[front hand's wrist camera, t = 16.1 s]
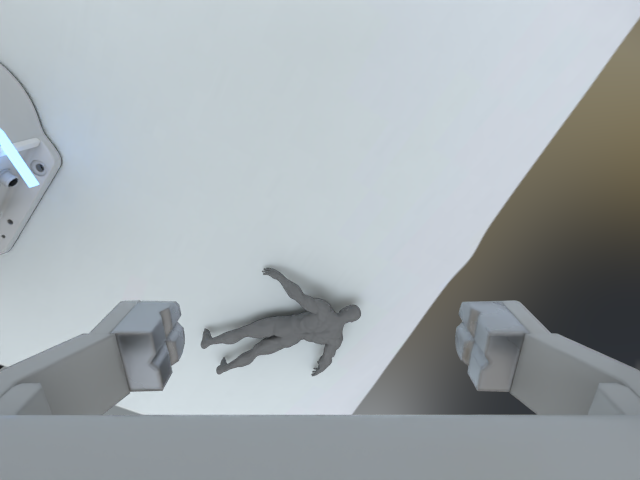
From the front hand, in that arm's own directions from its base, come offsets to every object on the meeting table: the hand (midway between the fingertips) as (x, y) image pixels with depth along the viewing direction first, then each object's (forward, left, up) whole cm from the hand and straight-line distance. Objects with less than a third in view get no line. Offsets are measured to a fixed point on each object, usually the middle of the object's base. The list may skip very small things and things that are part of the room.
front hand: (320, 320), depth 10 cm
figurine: (-21, -7, -30) cm, 37 cm away
